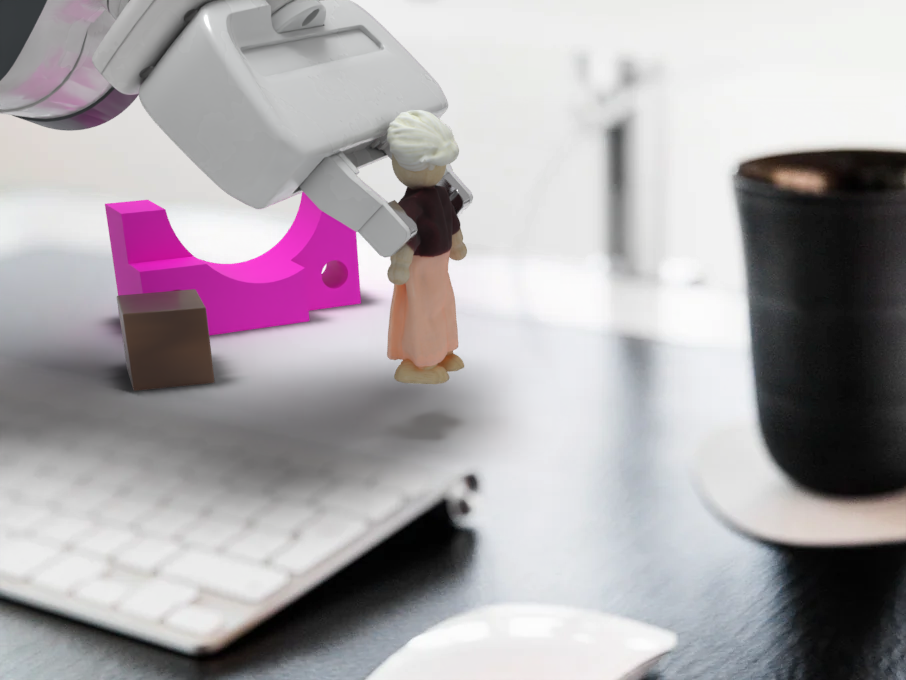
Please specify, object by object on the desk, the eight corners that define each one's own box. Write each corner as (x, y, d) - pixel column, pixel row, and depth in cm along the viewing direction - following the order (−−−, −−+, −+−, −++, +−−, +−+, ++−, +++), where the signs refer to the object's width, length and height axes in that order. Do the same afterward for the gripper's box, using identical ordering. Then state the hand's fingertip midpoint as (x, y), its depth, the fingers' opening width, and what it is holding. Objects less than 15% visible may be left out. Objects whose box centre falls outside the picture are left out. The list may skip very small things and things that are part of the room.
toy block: (149, 345, 86) (132, 221, 83) (122, 322, 91) (104, 203, 88) (376, 312, 94) (368, 197, 90) (339, 293, 98) (331, 182, 95)
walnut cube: (134, 392, 78) (122, 314, 76) (127, 370, 82) (116, 295, 80) (215, 384, 80) (206, 307, 78) (204, 363, 83) (196, 288, 81)
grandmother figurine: (406, 351, 75) (397, 99, 69) (477, 355, 74) (474, 102, 69) (368, 395, 68) (355, 119, 62) (447, 400, 68) (441, 123, 62)
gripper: (281, 33, 76) (459, 229, 78) (68, 70, 58) (306, 323, 60) (355, -56, 73) (536, 151, 76) (154, -46, 55) (401, 224, 58)
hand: (433, 228), depth 68 cm, fingers closed on grandmother figurine, 7 cm apart
